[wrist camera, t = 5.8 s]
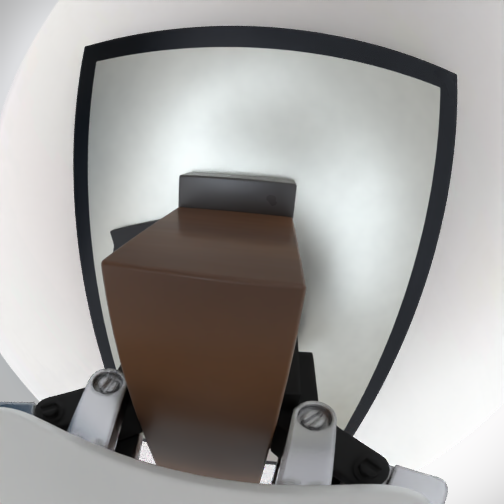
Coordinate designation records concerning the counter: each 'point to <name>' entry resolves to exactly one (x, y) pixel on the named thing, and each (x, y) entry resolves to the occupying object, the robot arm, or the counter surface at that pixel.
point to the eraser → (210, 322)
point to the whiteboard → (279, 172)
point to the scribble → (128, 233)
